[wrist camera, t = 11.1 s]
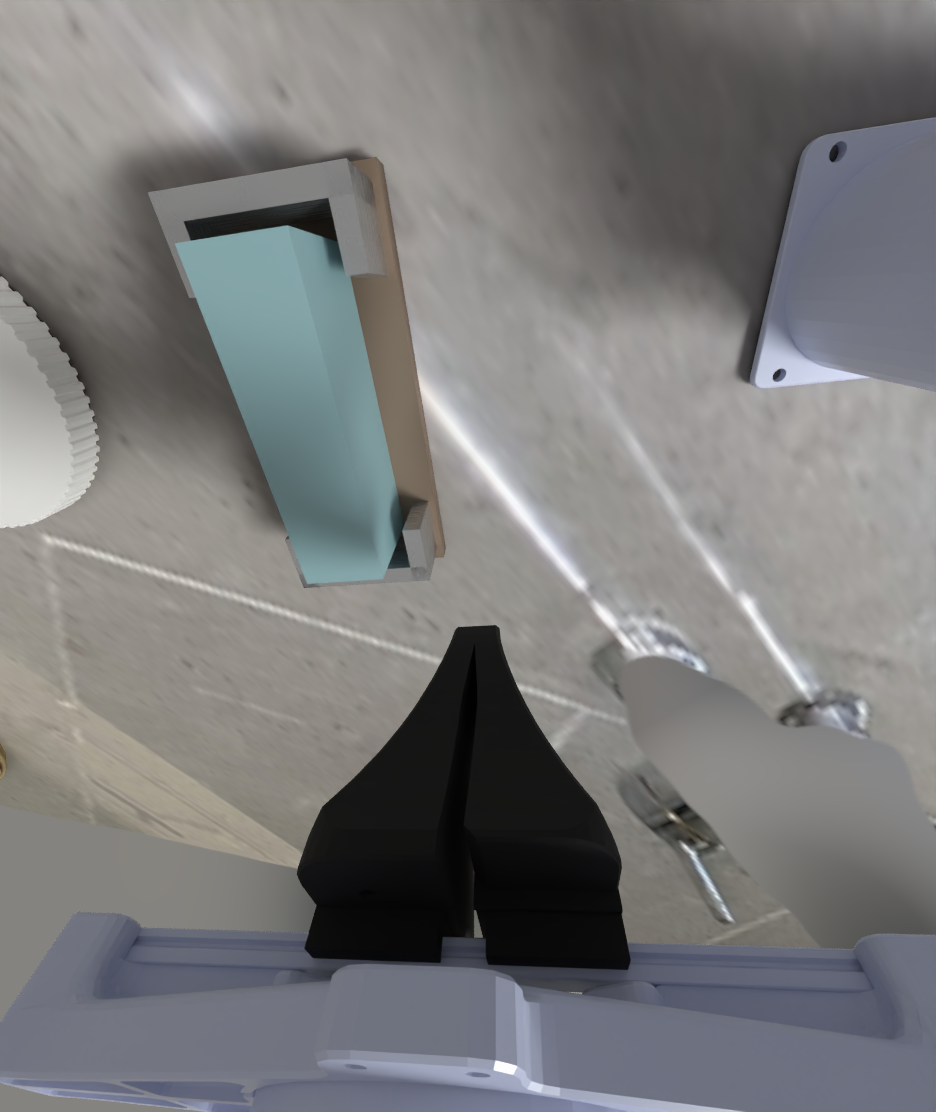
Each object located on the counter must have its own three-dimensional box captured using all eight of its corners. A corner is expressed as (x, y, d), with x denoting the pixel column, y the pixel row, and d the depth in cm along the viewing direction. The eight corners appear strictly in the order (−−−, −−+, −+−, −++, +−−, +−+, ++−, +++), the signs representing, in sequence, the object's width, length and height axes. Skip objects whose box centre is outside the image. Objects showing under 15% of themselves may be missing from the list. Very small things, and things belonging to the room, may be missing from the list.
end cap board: (383, 164, 15) (376, 156, 14) (445, 547, 24) (443, 557, 23) (205, 194, 16) (189, 189, 15) (328, 555, 25) (322, 565, 24)
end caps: (372, 181, 15) (346, 157, 12) (436, 548, 23) (429, 580, 20) (204, 209, 15) (147, 192, 13) (324, 556, 23) (304, 587, 21)
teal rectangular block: (343, 243, 16) (287, 225, 12) (404, 524, 22) (382, 579, 18) (258, 256, 16) (174, 243, 12) (342, 529, 22) (307, 583, 18)
